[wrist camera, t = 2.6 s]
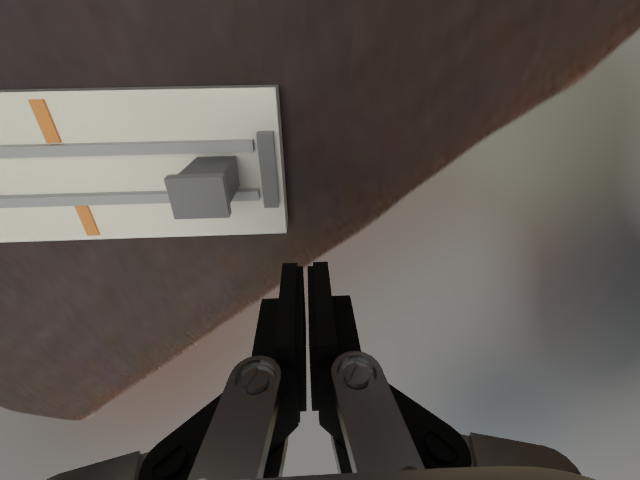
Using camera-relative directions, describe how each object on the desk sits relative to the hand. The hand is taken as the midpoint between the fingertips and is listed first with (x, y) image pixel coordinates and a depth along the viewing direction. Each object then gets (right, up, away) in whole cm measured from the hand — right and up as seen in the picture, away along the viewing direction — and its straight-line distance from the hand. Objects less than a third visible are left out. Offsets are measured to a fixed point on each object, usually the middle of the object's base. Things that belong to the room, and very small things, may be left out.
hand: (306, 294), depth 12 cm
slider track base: (-16, +9, +16) cm, 24 cm away
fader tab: (-8, +8, +13) cm, 17 cm away
